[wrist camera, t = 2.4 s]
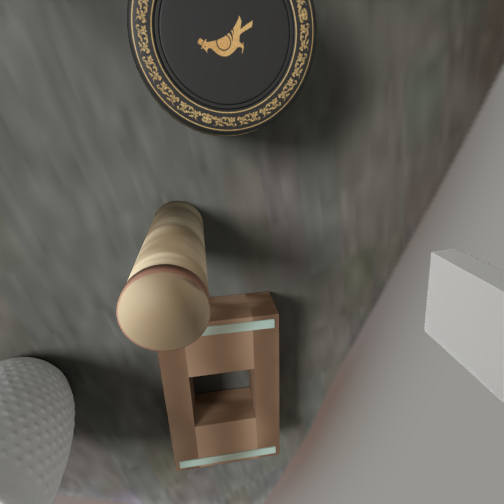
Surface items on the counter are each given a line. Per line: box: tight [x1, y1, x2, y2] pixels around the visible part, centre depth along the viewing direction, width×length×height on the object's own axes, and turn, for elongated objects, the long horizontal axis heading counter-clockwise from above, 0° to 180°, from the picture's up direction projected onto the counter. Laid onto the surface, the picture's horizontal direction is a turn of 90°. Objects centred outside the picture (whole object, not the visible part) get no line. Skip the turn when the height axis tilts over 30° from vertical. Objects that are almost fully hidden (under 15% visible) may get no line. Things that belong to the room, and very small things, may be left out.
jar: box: [127, 0, 316, 136], centre depth 21 cm, size 10×10×8 cm
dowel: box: [116, 201, 211, 352], centre depth 22 cm, size 4×4×14 cm
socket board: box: [157, 292, 279, 471], centre depth 32 cm, size 10×16×4 cm, turn 2°
